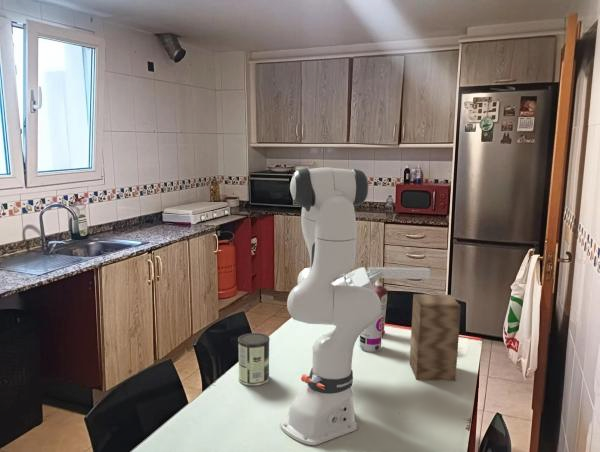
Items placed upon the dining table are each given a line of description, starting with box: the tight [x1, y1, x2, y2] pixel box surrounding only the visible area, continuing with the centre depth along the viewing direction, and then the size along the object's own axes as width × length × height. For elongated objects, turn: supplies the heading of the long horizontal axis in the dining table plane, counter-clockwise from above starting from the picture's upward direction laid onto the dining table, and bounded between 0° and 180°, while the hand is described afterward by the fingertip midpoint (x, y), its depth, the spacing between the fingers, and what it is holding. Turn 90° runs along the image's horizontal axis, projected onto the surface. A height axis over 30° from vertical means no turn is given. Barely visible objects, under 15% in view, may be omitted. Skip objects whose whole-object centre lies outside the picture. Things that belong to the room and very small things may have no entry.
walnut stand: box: [409, 293, 462, 382], centre depth 170 cm, size 13×12×26 cm
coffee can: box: [237, 332, 271, 387], centre depth 164 cm, size 10×10×14 cm
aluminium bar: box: [367, 266, 431, 280], centre depth 167 cm, size 20×3×3 cm, turn 89°
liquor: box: [373, 278, 389, 336], centre depth 203 cm, size 7×7×28 cm
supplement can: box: [358, 312, 383, 353], centre depth 191 cm, size 8×8×15 cm
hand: (381, 271), depth 167 cm, fingers closed on aluminium bar, 3 cm apart
